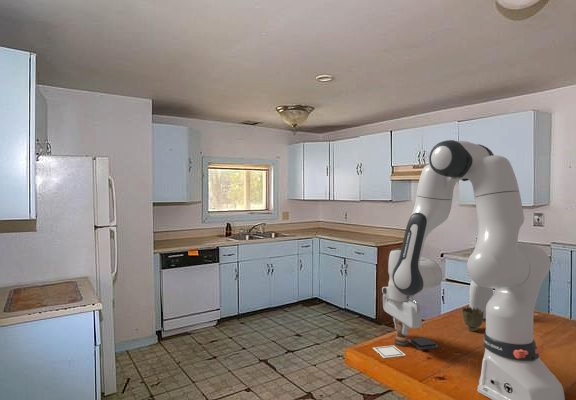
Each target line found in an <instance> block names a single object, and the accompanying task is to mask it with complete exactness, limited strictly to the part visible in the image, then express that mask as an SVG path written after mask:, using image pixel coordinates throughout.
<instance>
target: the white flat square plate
mask: <svg viewBox="0 0 576 400" xmlns="http://www.w3.org/2000/svg"><path fill="white" fill-rule="evenodd" d="M372 350H374V351H375V352H376V353H377V354H378V353H379V354H380V357H381V358H382V359H388V358H398V357H399V358H400V357H405V356H407V355H406V354H405V353H404V352H403V351H401V350H400V349H399V348H397V346H396V345H395V344H394V345H384V346H377V347H372ZM379 354H378V355H379Z"/></svg>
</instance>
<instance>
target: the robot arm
mask: <svg viewBox="0 0 576 400" xmlns="http://www.w3.org/2000/svg"><path fill="white" fill-rule="evenodd" d="M428 162H429V163H428V164H427V165H425V166H423V168H422V170H421V173H420V177H419V179H418V184H417V187H416V188H417V189H416V192H415V193H416V194H415V200H414V207H413V210H412V212H411V214H410V217H409V219H408V222H407V224H406V228H405V232H404V236H403V241H402V245H401V247H398V248H393V249H392V250H390V252H389V256H388V264H387V265H388V267H387V268H388V269H387V271H388V276H389V279H388V284H387V285H388V286H382V288H381V291H382V292H381V293H382V307H383V311H384V313H385V312H386V313H387V314H388V315H390V316H391V317H392V320H393V323H394V329H395V330H396V331H397V322H396V319H398V320H399V321H401V322H402V325H403V329H401V333H402V334H403V335H406V336H408V335H409V329H420V328H421V327H422V325H423V324H422V323H423V322H422V319H423V318H422V310H421V307H420V305H419V303H418V302H417V300H416V299H415V298H416V297H415V295H417V294H418V293H420V292H424V291H427V290H429V289H432V288H435V287H437V286H439V285H440V283H441V282H442V279H443V273H442V268H441V267H440V264H438V263H437V262H436V261H434V260H432V259H428V258H426V257H424V256H422V255H423V254H422V253H423V250H424V249H423V248H424V245H425V242H426V239H427V237H428V236H429V235H430V234H431V233H432V231H433V230H434V229H436V228H437V227H439V226H440V225H443V223H444V222H446V221H447V220H448V217H449V215H450V213H451V210H452V204H453V197H454V189H455V185H456V184H457V183H458V182H459V181H462V182H467V181H469V182H470V183H471V186H472V189H473V191H472V192H473V195H474V196H473V197H474V202H475V208H476V209H475V210H476V216H477V225H478V227H477V228H478V229H477V238H476V243H475V246H474V250H473V251H472V253H471V254H470V256H469V257H468V259H467V263H466V269H467V273H468V276H469V278H470V279H471V281H472V280H473V282H475V283H476V284H477V285H479V286H481V287H486V288H493V296H492V297H491V299H490V300H489V301H488V303H487V305H486V319H485V332H483V340H482V341H483V346H484V354H483V358H482V363H481V372H480V376H479V378H478V385H477V388H476V389H477V392H478V393H480V394H481V395H482V396H484V397H487V398H489V399H490V400H565V399H566V398H565V397H566V396H565V391H564V387H563V385H562V383H561V381H559V380H558V378H557V377H556V375H555V374H553V373H552V372H551V370H550V369H549V368H548V367H547V365H546V364H545V363H544V362H543V361H542V360H541V359H540V354H543V350H544V349H543V348H538V347H537V344H536V341H535V340H534V315H535V314H534V313H535V308H536V303H537V300H538V296H539V292H540V290H541V286H542V283H543V281H544V279H545V278H546V276H547V275H548V274H549V272H550V270H551V268H552V267H551V265H552V264H551V259H550V257H549V255H548V254H547V252H546V251H545V250H544V249H543V248H541V247H539V246H536V245H532V244H528V243H518V240H519V239H518V238H519V234H520V230H521V227H522V226H523V225H524V221H525V215H524V209H523V203H522V199H521V192H520V188H519V184H518V180H517V177H516V174H515V171H514V168H513V166H512V165H511V162H510V160H509V159H508V158H506V157H504V156H501V155H494V153H493V151H492V150H491V149H490V148H488V147H487V146H485V145H482V144H478V143H474V142H473V143H472V142H470V141H466V140H454V139H453V140H451V139H448V140H443V141H440V142H438V143H436V144H435V145H434V146H433V147H432V148H431V150H430V152H429V155H428Z"/></svg>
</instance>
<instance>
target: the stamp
mask: <svg viewBox="0 0 576 400" xmlns="http://www.w3.org/2000/svg"><path fill="white" fill-rule="evenodd" d="M396 322H397V330H396V334H395V336H394V337H395V339H394V345H395V346H399V347H407V346H408V345H409V339H408V335H403V334H402V333H401V329H403V325H402V322H401V321H399V320H398V319H396Z"/></svg>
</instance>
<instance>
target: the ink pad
mask: <svg viewBox="0 0 576 400" xmlns="http://www.w3.org/2000/svg"><path fill="white" fill-rule="evenodd" d="M408 343H410V344H411V345H412V346H414V347H416V348H417V349H418V350H420V351H422V350H430V349H438V348H439V345H438V344H437V343H435V342H434V341H432V340H431V339H429V338H428V337H427V336H426V337H417V338H414V337H413V338H409V339H408Z"/></svg>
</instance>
